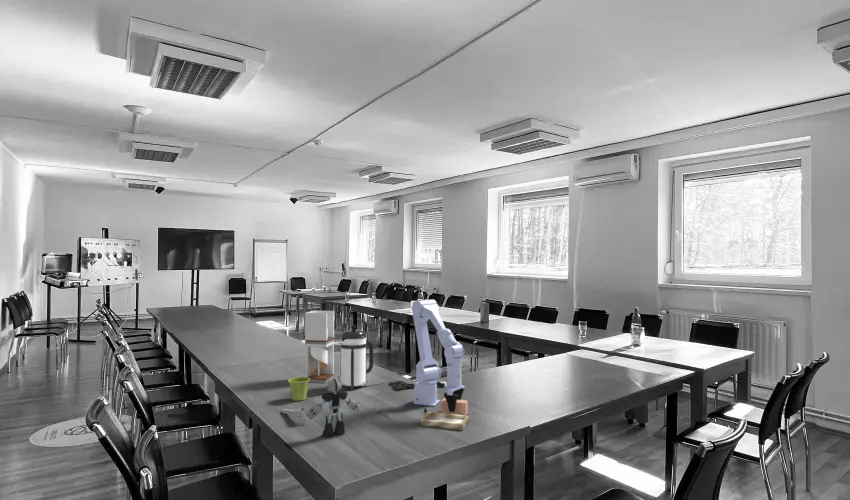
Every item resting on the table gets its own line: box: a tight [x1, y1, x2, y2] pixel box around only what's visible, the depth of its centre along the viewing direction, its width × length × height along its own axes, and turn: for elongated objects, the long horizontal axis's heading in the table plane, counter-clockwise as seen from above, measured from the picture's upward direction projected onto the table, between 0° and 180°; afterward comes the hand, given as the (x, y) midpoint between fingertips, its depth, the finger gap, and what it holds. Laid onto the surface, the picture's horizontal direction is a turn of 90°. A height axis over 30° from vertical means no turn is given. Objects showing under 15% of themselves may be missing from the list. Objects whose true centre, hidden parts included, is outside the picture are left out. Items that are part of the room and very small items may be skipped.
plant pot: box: [287, 376, 310, 402], centre depth 205 cm, size 9×9×9 cm
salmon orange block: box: [440, 397, 469, 416], centre depth 186 cm, size 10×4×5 cm, turn 71°
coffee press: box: [339, 324, 374, 391], centre depth 227 cm, size 17×16×30 cm
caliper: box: [280, 406, 306, 426], centre depth 180 cm, size 21×1×6 cm, turn 39°
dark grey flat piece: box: [388, 380, 447, 392], centre depth 227 cm, size 20×25×3 cm
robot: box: [305, 375, 361, 438], centre depth 163 cm, size 20×5×20 cm, turn 120°
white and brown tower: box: [304, 310, 335, 384], centre depth 239 cm, size 11×11×35 cm
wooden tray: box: [420, 411, 470, 431], centre depth 173 cm, size 16×10×2 cm, turn 71°
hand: (454, 408), depth 186 cm, fingers open, 7 cm apart
